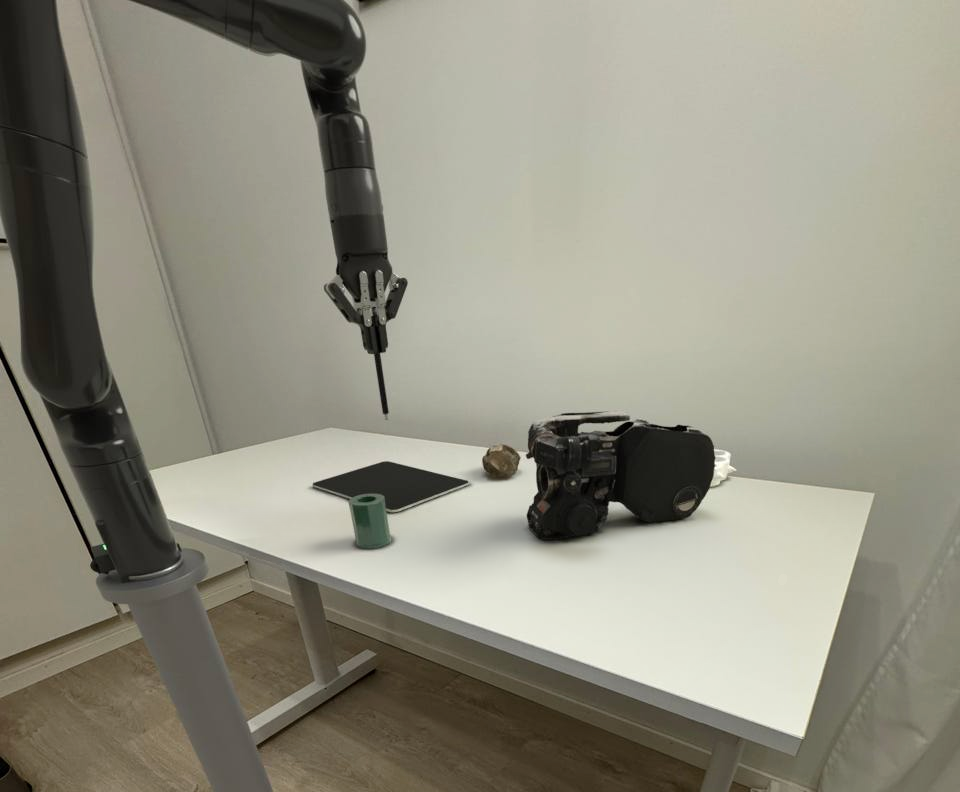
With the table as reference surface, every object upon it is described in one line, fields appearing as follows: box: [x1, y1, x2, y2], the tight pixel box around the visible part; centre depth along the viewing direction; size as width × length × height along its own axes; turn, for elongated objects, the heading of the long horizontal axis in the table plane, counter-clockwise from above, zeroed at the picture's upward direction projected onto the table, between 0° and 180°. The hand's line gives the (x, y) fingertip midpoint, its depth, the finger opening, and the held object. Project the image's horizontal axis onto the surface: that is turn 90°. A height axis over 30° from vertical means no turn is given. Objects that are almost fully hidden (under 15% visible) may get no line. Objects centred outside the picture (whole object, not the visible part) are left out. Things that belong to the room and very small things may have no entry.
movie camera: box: [525, 410, 716, 541], centre depth 84 cm, size 31×18×18 cm, turn 100°
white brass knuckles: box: [710, 449, 737, 488], centre depth 106 cm, size 3×18×15 cm
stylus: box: [371, 315, 390, 421], centre depth 88 cm, size 1×1×15 cm
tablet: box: [312, 460, 469, 513], centre depth 112 cm, size 27×1×20 cm
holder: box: [348, 494, 392, 550], centre depth 86 cm, size 5×6×7 cm
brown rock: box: [481, 443, 521, 478], centre depth 114 cm, size 8×7×10 cm
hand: (376, 352), depth 87 cm, fingers closed on stylus, 1 cm apart
